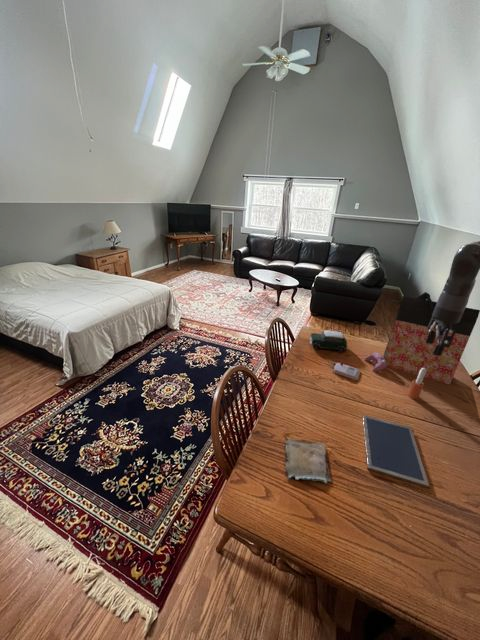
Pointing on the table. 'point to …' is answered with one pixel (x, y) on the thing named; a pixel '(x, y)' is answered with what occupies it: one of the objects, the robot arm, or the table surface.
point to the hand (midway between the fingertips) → (432, 348)
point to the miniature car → (329, 340)
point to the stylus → (421, 376)
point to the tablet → (393, 451)
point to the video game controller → (377, 361)
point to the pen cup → (415, 390)
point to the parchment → (306, 461)
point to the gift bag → (411, 335)
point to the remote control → (346, 370)
